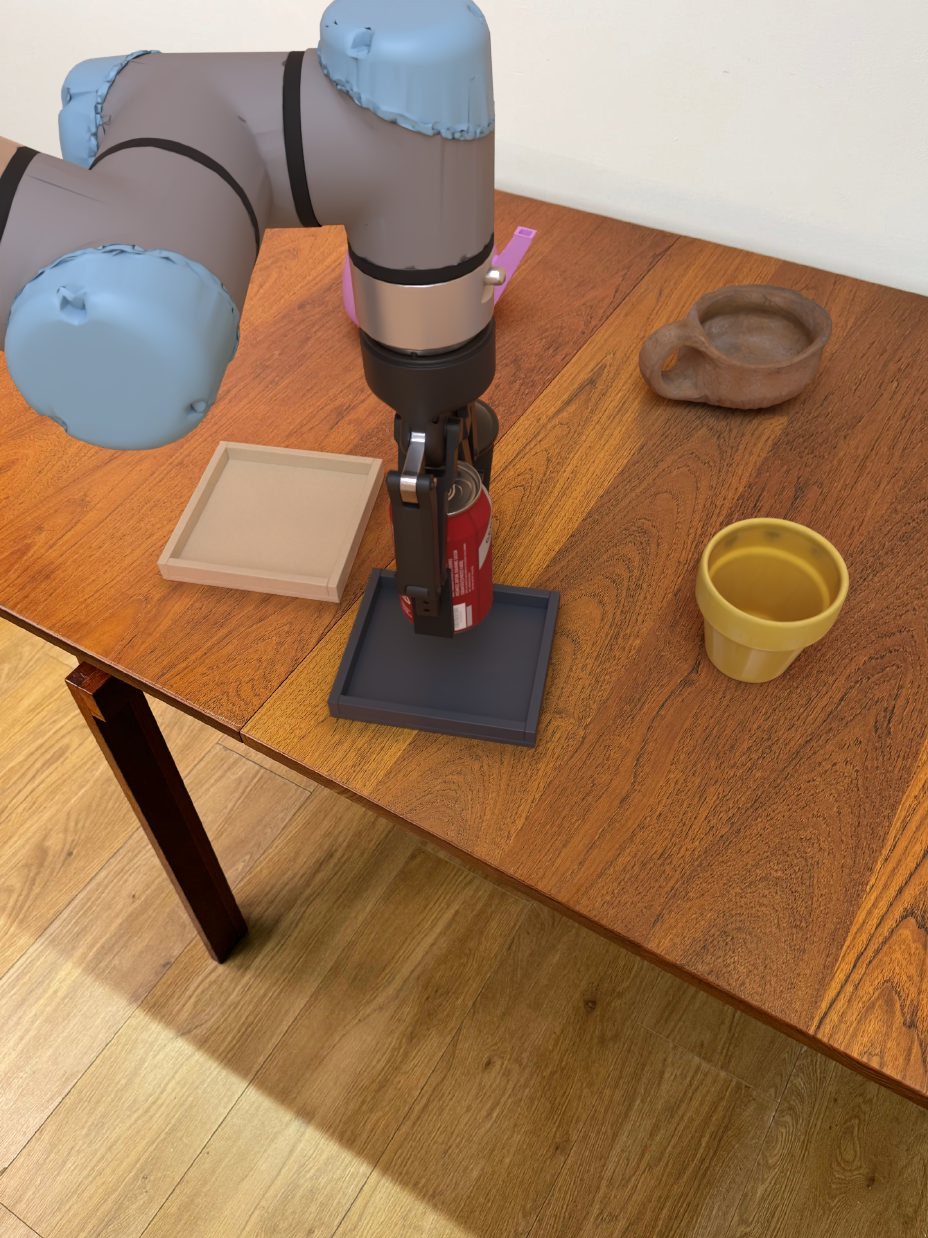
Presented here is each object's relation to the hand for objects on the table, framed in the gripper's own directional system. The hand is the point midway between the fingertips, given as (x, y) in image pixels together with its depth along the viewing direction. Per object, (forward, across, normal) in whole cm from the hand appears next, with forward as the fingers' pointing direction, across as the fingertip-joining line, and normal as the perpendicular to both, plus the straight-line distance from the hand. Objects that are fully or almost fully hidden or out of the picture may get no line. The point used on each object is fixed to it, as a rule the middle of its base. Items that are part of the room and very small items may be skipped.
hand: (445, 591), depth 72 cm
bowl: (+9, +37, -20) cm, 43 cm away
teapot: (+9, +42, +10) cm, 44 cm away
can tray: (+8, 0, 0) cm, 8 cm away
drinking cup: (+9, +12, +2) cm, 15 cm away
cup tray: (+8, +12, +18) cm, 23 cm away
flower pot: (+9, +5, -23) cm, 25 cm away
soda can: (+2, 0, 0) cm, 2 cm away
